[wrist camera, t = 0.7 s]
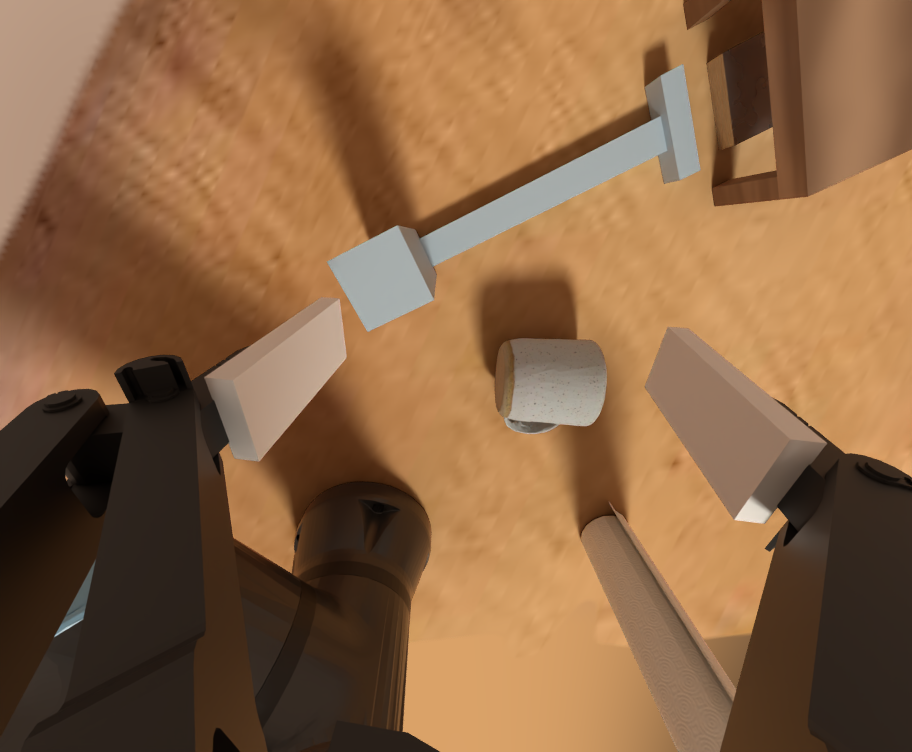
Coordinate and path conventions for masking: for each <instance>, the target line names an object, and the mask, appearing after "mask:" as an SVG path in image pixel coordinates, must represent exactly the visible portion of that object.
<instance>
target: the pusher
mask: <svg viewBox="0 0 912 752" xmlns="http://www.w3.org/2000/svg"><path fill="white" fill-rule="evenodd" d="M645 91H646V96H647V101H648V106H649V111H650V116H651V121H650V122H648V123H646V124H644V125H642V126H640V127H638V128H636V129H634V130H632V131H630V132H628V133H626V134H624V135H622V136H620V137H618V138H616V139H614V140H612V141H610V142H608V143H607V144H605V145H603V146H601V147H599V148H597V149H595V150H593V151H591V152H589V153H587V154H585V155H583V156H581V157H579V158H577V159H575V160H573V161H571V162H569V163H567V164H565V165H563V166H561V167H559V168H557V169H555V170H553V171H551V172H550V173H548V174H546V175H544V176H542V177H540V178H538V179H536V180H534V181H532V182H530V183H528V184H526V185H524V186H522V187H520V188H518V189H516V190H514V191H512V192H510V193H508V194H506V195H504V196H502V197H500V198H498V199H496V200H494V201H492V202H491V203H489V204H487V205H485V206H483V207H481V208H479V209H477V210H475V211H473V212H471V213H469V214H467V215H465V216H463V217H461V218H459V219H457V220H455V221H453V222H451V223H449V224H447V225H445V226H443V227H441V228H439V229H437V230H435V231H434V232H432V233H430V234H428V235H426V236H424V237H422V238H419V236H418V234H417V232H416V230H415V229H412V228H407V227H403V226H399V225H397V226H395V227H393V228H391V229H389V230H387V231H385V232H383V233H381V234H379V235H378V236H376V237H374V238H372V239H370V240H368V241H366V242H364V243H362V244H360V245H358V246H356V247H354V248H352V249H351V250H349V251H347V252H345V253H343V254H341V255H339V256H337V257H335V258H333V259H331V260H329V261H327V263H328V265H329V266H330V268H331V270H332V271H333V273H334V275H335V277H336V278H337V280H338V282H339V283H340V285H341V287H342V289H343V290H344V292H345V294H346V295H347V297H348V299H349V301H350V302H351V304H352V306H353V307H354V309H355V311H356V313H357V314H358V316H359V318H360V319H361V321H362V323H363V325H364V326H365V328H366V330H367V331H368V332H369V331H371V330H373V329H375V328H377V327H379V326H381V325H383V324H385V323H387V322H389V321H391V320H393V319H396V318H398V317H400V316H402V315H404V314H406V313H408V312H410V311H412V310H414V309H416V308H418V307H420V306H423V305H425V304H427V303H429V302H431V301H433V300H434V294H435V285H436V275H437V274H436V272H435V270H434V268H433V266H435V265H437V264H439V263H441V262H443V261H445V260H447V259H449V258H451V257H453V256H455V255H457V254H459V253H461V252H463V251H465V250H467V249H469V248H471V247H473V246H475V245H477V244H479V243H482V242H484V241H486V240H488V239H490V238H492V237H494V236H496V235H498V234H500V233H502V232H504V231H506V230H508V229H510V228H512V227H514V226H516V225H518V224H520V223H522V222H524V221H526V220H528V219H530V218H532V217H534V216H536V215H538V214H540V213H542V212H544V211H546V210H548V209H550V208H552V207H554V206H556V205H558V204H560V203H562V202H564V201H566V200H568V199H570V198H572V197H574V196H576V195H579V194H581V193H583V192H585V191H587V190H589V189H591V188H593V187H595V186H597V185H599V184H601V183H603V182H605V181H607V180H609V179H611V178H613V177H615V176H617V175H619V174H621V173H623V172H625V171H627V170H629V169H631V168H633V167H635V166H637V165H639V164H641V163H643V162H645V161H647V160H649V159H651V158H653V157H655V156H657V155H658V156H659V161H660V166H661V171H662V176H663V181H664V184H666V183H670V182H674V181H679V180H681V179H683V178H685V177H687V176H690V175H692V174H694V173H696V172H698V171H700V164H699V158H698V152H697V146H696V140H695V134H694V128H693V121H692V115H691V109H690V103H689V97H688V91H687V85H686V78H685V72H684V66H683V64H682V65H680V66H678V67H676V68H674V69H672V70H671V71H669V72H667V73H665V74H663V75H661V76H659V77H658V78H657V79H655V80H654V81H653V82H651V83H650V84H648V85H647V86H646V87H645Z"/></svg>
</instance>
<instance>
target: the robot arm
mask: <svg viewBox="0 0 912 752" xmlns="http://www.w3.org/2000/svg"><path fill="white" fill-rule="evenodd" d="M346 358H347V355H346V347H345V339H344V331H343V323H342V315H341V307H340V299H338V298H327V297H321V298H320V299H318V300H317V301H315V302H314V303H312V304H311V305H309V306H308V307H306V308H305V309H303V310H302V311H300V312H299V313H298V314H296V315H295V316H293V317H292V318H290V319H289V320H287V321H286V322H284V323H283V324H281V325H280V326H279V327H277V328H276V329H274V330H273V331H271V332H270V333H268V334H267V335H265V336H264V337H262V338H261V339H260V340H258V341H257V342H255V343H254V344H252V345H250V346H248V347H245V348H243V349H240V350H238V351H236V352H234V353H233V354H231V355H230V356H228V357H227V358H226V360H222V361H221V362H219V363H218V364H216V366H213V367H212V368H210V369H209V370H207V371H206V372H204V373H203V374H201V375H200V376H198V377H197V378H195V379H194V380H192V381H191V380H190V378H189V375H188V373H187V370H186V368H185V365H184V363H183V361H182V359H181V358H180V357H177V356H174V355H158V356H150V357H146V358H142V359H138V360H135V361H132V362H130V363H127V364H125V365H124V366H122V367H120V368H118V370H117V371H116V372H115V373H114V375H115V377H116V378H117V380H118V382H119V384H120V386H121V388H122V390H123V392H124V394H125V396H126V398H127V400H128V401H129V403H127V404H115V405H105V403H104V401H103V400H102V398H101V396H100V394H99V393H98V392H97V391H96V390H91V389H77V390H71V391H62V392H58V394H56V393H54V394H51V395H48V396H47V397H46V398H44V399H41V400H39V401H37V402H35V403H33V404H32V405H30V406H29V407H27V408H26V409H25V410H24V411H23V412H21V413H20V414H19V415H18V416H17V417H16V418H15V419H13V420H12V421H11V422H10V423H9V424H8V425H7V426H5V427H4V428H3V429H2V430H1V431H0V752H439V751H438V750H436V749H434V748H433V747H431V746H429V745H428V744H426V743H424V742H423V741H420V740H419V739H417V738H416V737H414V736H412V735H411V734H409V733H406V732H402V731H403V716H404V700H405V685H406V670H407V655H408V639H409V624H410V610H411V601H412V598H413V596H414V593H415V591H416V588H417V585H418V583H419V580H420V578H421V575H422V572H423V571H424V569H425V567H426V565H427V562H428V560H429V556H430V551H431V525H430V522H429V519H428V517H427V515H426V513H425V511H424V510H423V508H422V507H421V506H420V505H419V504H418V503H417V502H416V501H415V500H414V499H413V498H412V497H410V496H409V495H407V494H406V493H404V492H402V491H400V490H398V489H396V488H393V487H391V486H388V485H384V484H379V483H373V482H353V483H347V484H342V485H339V486H336V487H333V488H331V489H329V490H327V491H325V492H323V493H322V494H320V495H319V496H318V497H316V498H315V499H314V500H313V501H312V502H311V503H310V505H309V506H308V508H307V509H306V511H305V513H304V515H303V517H302V519H301V521H300V523H299V525H298V528H297V531H296V535H295V542H294V550H295V555H294V560H293V568H292V574H291V573H290V572H288V571H286V570H285V569H283V568H282V567H280V566H278V565H277V564H275V563H273V562H272V561H270V560H269V559H267V558H265V557H264V556H262V555H260V554H259V553H257V552H256V551H254V550H252V549H251V548H249V547H247V546H246V545H244V544H243V543H241V542H239V541H238V540H236V539H234V538H233V534H232V527H231V520H230V512H229V505H228V497H227V490H226V482H225V475H224V468H223V461H222V458H221V456H220V453H219V452H220V451H221V450H222V449H223V448H224V447H225V446H226V445H227V444H228V443H229V445H230V448H231V451H232V454H233V456H234V458H235V459H243V460H251V461H260V460H261V459H262V458H263V456H264V455H265V454H266V453H267V452H268V451H269V449H270V448H271V447H272V446H273V445H274V443H275V442H276V441H277V440H278V439H279V437H280V436H281V435H282V434H283V433H284V432H285V430H286V429H287V428H288V427H289V426H290V424H291V423H292V422H293V421H294V420H295V418H296V417H297V416H298V415H299V414H300V413H301V411H302V410H303V409H304V408H305V407H306V405H307V404H308V403H309V402H310V401H311V400H312V398H313V397H314V396H315V395H316V394H317V392H318V391H319V390H320V389H321V388H322V386H323V385H324V384H325V383H326V382H327V381H328V379H329V378H330V377H331V376H332V375H333V373H334V372H335V371H336V370H337V369H338V367H339V366H340V365H341V364H342V363H343V362H344V360H345V359H346ZM645 388H646V390H647V391H648V393H649V394H650V396H651V397H652V399H653V400H654V402H655V403H656V405H657V406H658V408H659V409H660V410H661V412H662V413H663V415H664V416H665V418H666V419H667V421H668V422H669V424H670V425H671V427H672V428H673V430H674V431H675V433H676V434H677V436H678V437H679V439H680V440H681V442H682V443H683V445H684V446H685V448H686V449H687V451H688V452H689V454H690V455H691V457H692V458H693V460H694V461H695V463H696V464H697V465H698V467H699V468H700V470H701V471H702V473H703V474H704V476H705V477H706V479H707V480H708V482H709V483H710V485H711V486H712V488H713V489H714V491H715V492H716V494H717V495H718V497H719V498H720V500H721V501H722V503H723V504H724V506H725V507H726V509H727V510H728V512H729V513H730V515H731V516H732V518H733V519H734V520H739V521H748V522H756V523H764V524H765V523H766V521H767V520H768V519H769V518H770V516H771V515H772V514H773V512H774V511H775V510H776V509H777V507H778V508H779V509H780V511H781V512H782V513H783V514H784V515H785V517H786V518H787V519H788V521H787V522H786V523H785V524H784V526H783V527H782V528H781V529H780V531H779V532H778V533H777V534H776V535H775V537H774V538H773V539H772V540H771V541H770V543H769V544H768V545H767V546H766V548H765V549H766V550H768V551H771V550H772V549H773V548H775V550H774V553H773V557H772V561H771V564H770V568H769V572H768V575H767V579H766V583H765V587H764V590H763V594H762V598H761V601H760V605H759V609H758V612H757V616H756V620H755V623H754V627H753V631H752V634H751V639H750V642H749V645H748V649H747V653H746V657H745V660H744V664H743V668H742V671H741V675H740V679H739V682H738V686H737V690H736V693H735V697H734V701H733V704H732V708H731V712H730V715H729V719H728V723H727V727H726V730H725V734H724V738H723V741H722V745H721V749H720V752H912V478H911V477H910V476H909V475H907V474H905V473H904V472H902V471H900V470H899V469H897V468H895V467H893V466H891V465H889V464H886V463H884V462H882V461H880V460H877V459H873V458H870V457H867V456H864V455H858V454H852V453H850V454H845V453H844V452H842V451H841V450H840V449H839V448H838V447H836V446H835V445H834V444H833V443H831V442H830V441H829V440H828V439H827V438H825V437H824V436H823V435H822V434H820V433H819V432H818V431H817V430H815V429H814V428H813V427H812V426H808V423H807V422H806V421H804V420H803V419H802V418H801V417H797V414H796V413H795V412H793V411H792V410H791V409H790V408H788V407H787V406H786V405H785V404H783V403H782V402H780V401H778V400H776V399H774V398H772V397H771V396H769V395H768V394H767V393H766V392H765V391H763V390H762V389H761V388H760V387H759V386H757V385H756V384H755V383H754V382H753V381H751V380H750V379H749V378H748V377H746V376H745V375H744V374H743V373H742V372H740V371H739V370H738V369H737V368H736V367H734V366H733V365H732V364H731V363H730V362H728V361H727V360H726V359H725V358H723V357H722V356H721V355H720V354H719V353H717V352H716V351H715V350H714V349H713V348H711V347H710V346H709V345H708V344H707V343H705V342H704V341H703V340H702V339H700V338H699V337H698V336H697V335H696V334H694V333H693V332H692V331H691V330H690V329H688V328H677V327H667V330H666V333H665V335H664V338H663V340H662V343H661V346H660V348H659V351H658V353H657V356H656V359H655V361H654V364H653V366H652V369H651V372H650V374H649V377H648V379H647V382H646V385H645ZM65 475H66V476H67V478H68V480H67V481H66V479H65Z"/></svg>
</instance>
